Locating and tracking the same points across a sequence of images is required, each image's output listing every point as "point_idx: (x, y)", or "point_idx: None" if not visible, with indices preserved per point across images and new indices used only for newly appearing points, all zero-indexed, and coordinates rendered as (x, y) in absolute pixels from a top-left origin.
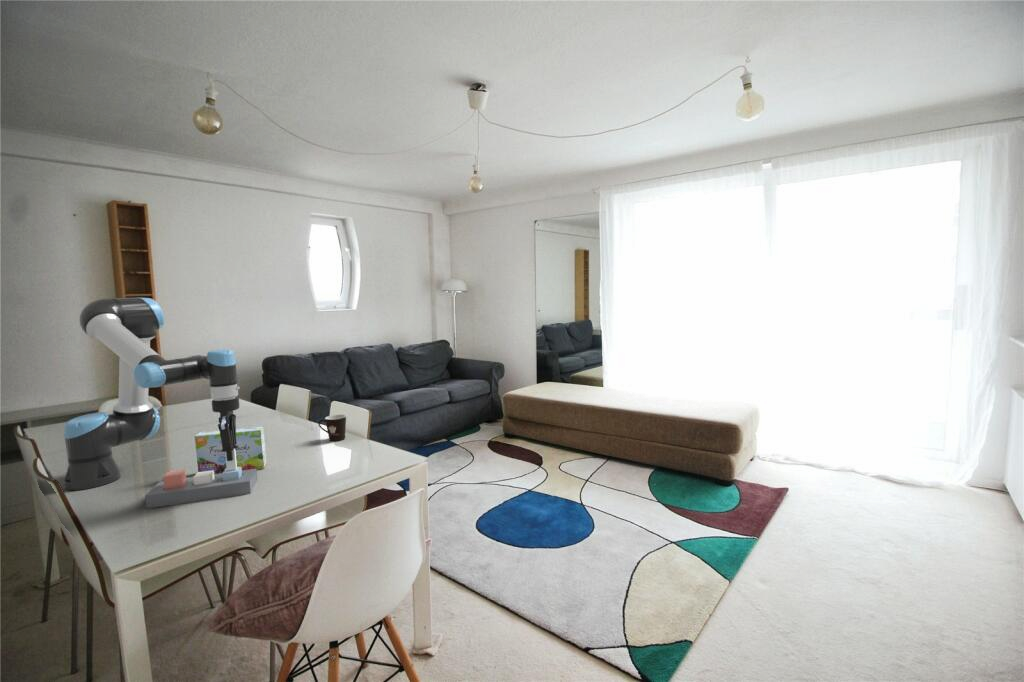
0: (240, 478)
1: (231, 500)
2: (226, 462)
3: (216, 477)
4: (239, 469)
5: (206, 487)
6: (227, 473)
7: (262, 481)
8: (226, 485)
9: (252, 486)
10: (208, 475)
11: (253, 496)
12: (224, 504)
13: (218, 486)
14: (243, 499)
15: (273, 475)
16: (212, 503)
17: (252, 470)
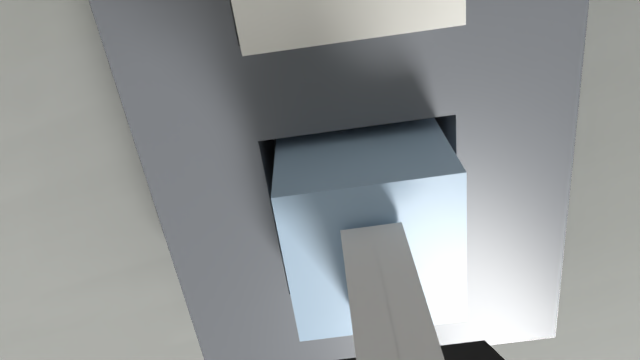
0: None
1: (99, 219)
2: (350, 312)
3: None
4: None
5: (102, 36)
6: (281, 243)
7: None
8: (161, 217)
9: None
10: (238, 35)
11: (159, 334)
12: (21, 196)
13: (143, 150)
14: (110, 291)
15: (566, 341)
16: (46, 91)
17: (513, 321)
